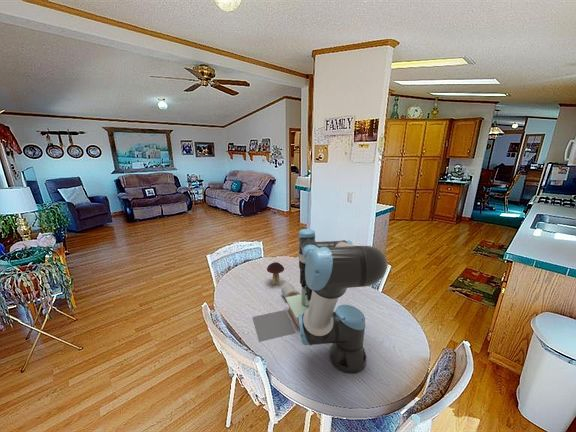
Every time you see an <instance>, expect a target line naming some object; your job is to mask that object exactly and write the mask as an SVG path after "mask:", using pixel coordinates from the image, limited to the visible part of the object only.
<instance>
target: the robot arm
mask: <svg viewBox="0 0 576 432" xmlns="http://www.w3.org/2000/svg"><path fill="white" fill-rule="evenodd" d="M298 260H299V261H298V268H299V285H301V286H300V287H301V289H302V288H304V287H306V292H307V293H306V294H305V295H306V306H307V305H310V306H309V308H308V309H307V310H306V311H305V313H302V314H299V316H298V317H299V327H300V328H299V334H300V339H301V343H302V345H304V346H313V345H314V346H315V345H316V346H317V345H327V344H331V346H330V348H329V361H330V363H331V364H332V365H333V366H334V367H335V368H336V369H337V370H338V371H341V372H343V373H346V374H356V373H360V372H362V370H363V369H364V368H365V367H366V364H367V353H366V350H365V347H364V339H365V329H366V317H365V314H364V312H363V311H361V309H359V308H357V307H356V306H353V305H350V304H340V305H338V306H337V302H338V300H339V298H341V297H342V296H344V294H345V293H346V291H347V289H352V288H353V289H354V288H363V287H364V288H365V287H370V286H372V285H375V284H376V283H378V282H379V281H380V280H382V279H383V277H384V276H385V274H386V271H387V269H388V261H387V258H386V256H385V254H384V253H383V252H382V250H381V249H379V248H377V247H374V246H371V245H356V244H353V243H352V241H351V240H345V239H344V240H331V241H329V240H328V241H326V240H325V241H316V232H315V230H314V229H311V228H302V229H301V230H299V234H298ZM336 306H337V307H336ZM335 308H336V309H335Z"/></svg>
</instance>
